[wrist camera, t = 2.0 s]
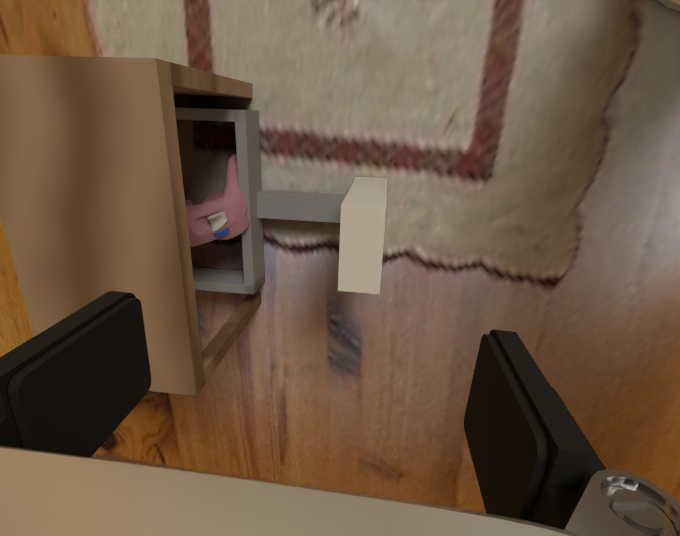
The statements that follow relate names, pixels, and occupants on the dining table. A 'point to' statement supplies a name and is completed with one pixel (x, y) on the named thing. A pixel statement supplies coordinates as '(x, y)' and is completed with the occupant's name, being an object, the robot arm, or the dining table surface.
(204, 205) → the video game controller
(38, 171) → the brown wooden stand
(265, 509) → the robot arm
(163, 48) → the dining table surface
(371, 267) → the grey drawer with handle
